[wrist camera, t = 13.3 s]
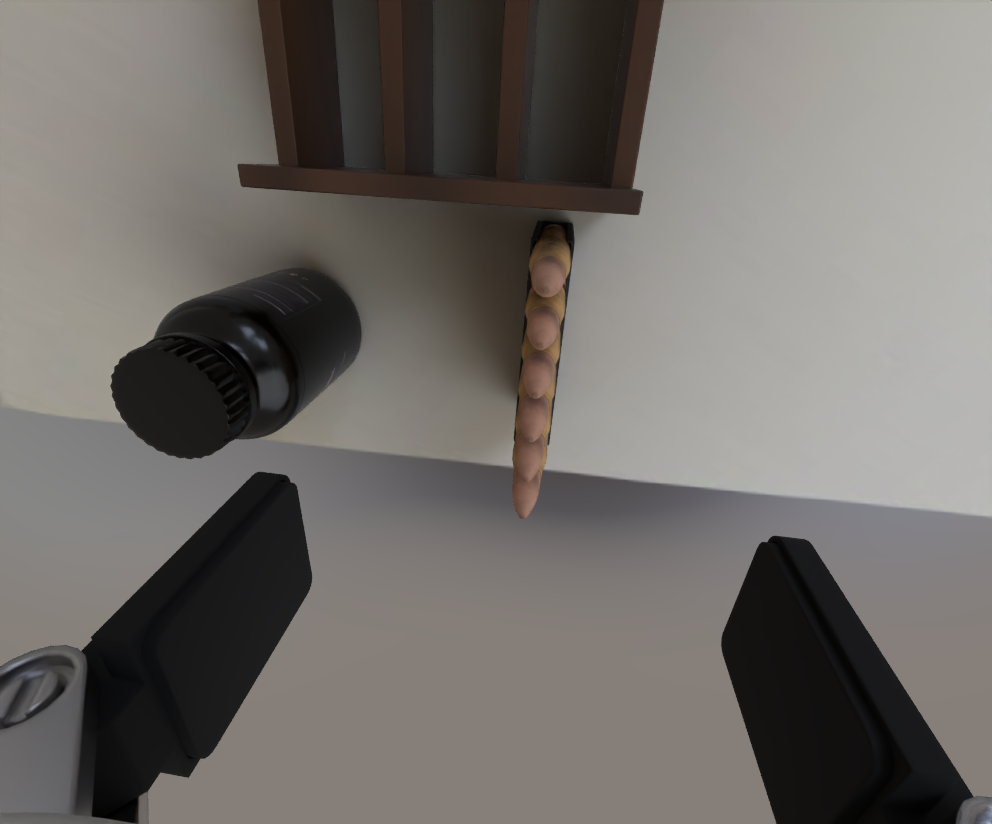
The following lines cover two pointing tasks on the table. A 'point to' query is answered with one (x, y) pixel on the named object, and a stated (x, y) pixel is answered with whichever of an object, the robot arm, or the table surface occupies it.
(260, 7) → the rack
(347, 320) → the supplement bottle
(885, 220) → the table surface
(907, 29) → the table surface
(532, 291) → the ammunition clip
